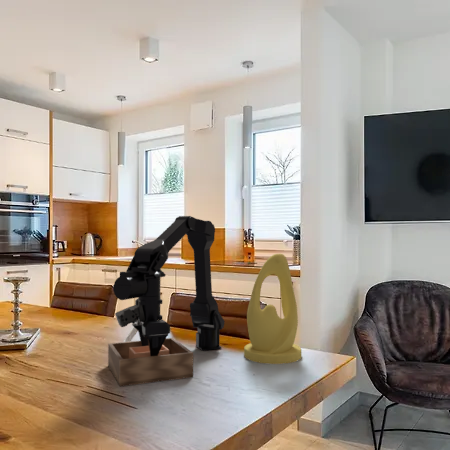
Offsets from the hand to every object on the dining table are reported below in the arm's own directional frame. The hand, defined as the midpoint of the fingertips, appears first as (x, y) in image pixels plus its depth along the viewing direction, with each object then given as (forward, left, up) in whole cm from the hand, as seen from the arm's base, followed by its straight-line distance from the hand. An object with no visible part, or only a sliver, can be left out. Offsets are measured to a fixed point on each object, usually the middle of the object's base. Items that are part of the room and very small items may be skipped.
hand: (149, 355), depth 117 cm
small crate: (0, 0, -3) cm, 3 cm away
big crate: (0, 0, -4) cm, 4 cm away
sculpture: (-37, -1, -4) cm, 37 cm away
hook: (+2, -17, -4) cm, 18 cm away
